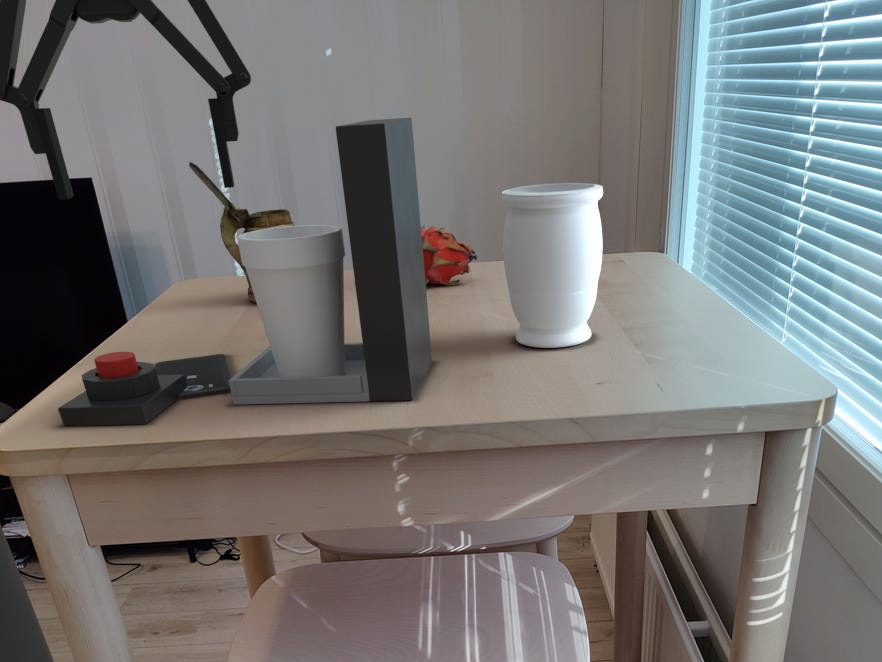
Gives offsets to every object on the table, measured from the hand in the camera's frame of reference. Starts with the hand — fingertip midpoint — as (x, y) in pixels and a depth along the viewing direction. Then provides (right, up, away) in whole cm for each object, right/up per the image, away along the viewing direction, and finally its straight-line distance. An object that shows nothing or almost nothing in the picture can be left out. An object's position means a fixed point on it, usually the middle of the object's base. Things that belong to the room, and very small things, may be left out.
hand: (149, 192), depth 74 cm
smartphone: (-2, -12, +17) cm, 20 cm away
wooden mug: (-2, +10, +49) cm, 51 cm away
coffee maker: (+14, -13, +11) cm, 23 cm away
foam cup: (+12, -12, +11) cm, 21 cm away
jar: (+37, -5, +21) cm, 43 cm away
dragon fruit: (+22, +14, +53) cm, 59 cm away
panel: (-5, -16, +8) cm, 19 cm away
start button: (-5, -14, +7) cm, 16 cm away
